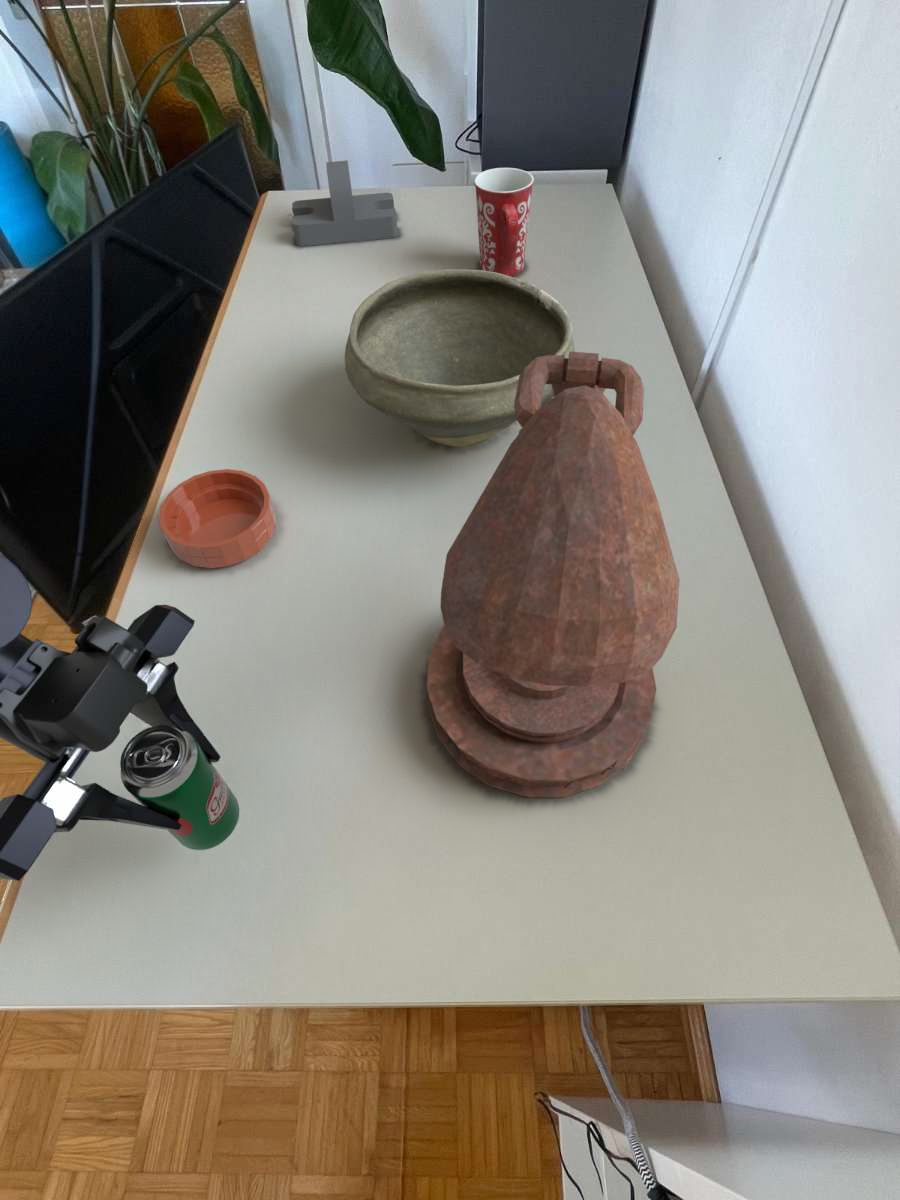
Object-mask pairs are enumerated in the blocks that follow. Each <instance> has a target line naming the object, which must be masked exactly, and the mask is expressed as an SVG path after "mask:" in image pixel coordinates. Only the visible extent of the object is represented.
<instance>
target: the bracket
mask: <svg viewBox="0 0 900 1200" xmlns="http://www.w3.org/2000/svg"><path fill="white" fill-rule="evenodd" d="M325 164H326V165H325V166H326V174H327V176H326V177H327V182H328V183H327V184H328V191H329V197H322V198H312V199H311V198H310V199H300V200H299V199H298V200H295V201H293V202H292V204H291V207H292V208H291V210H292V214H293V215H292V216H291V224H292V229H293V234H294V238H295V245H297V246H298V247H310V246H321V245H332V244H342V243H353V242H363V241H375V240H387V239H395V238H397V237H398V236H399V232H398V219H397V211H396V208H395V201H394V195H393V194H392V193H391V192H379V193H378V192H377V193H367V194H357V195H356V194H355V195H353V190H352V184H351V175H350V168H349V161H348V160H335V161H327V162H325Z"/></svg>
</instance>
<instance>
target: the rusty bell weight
mask: <svg viewBox="0 0 900 1200" xmlns="http://www.w3.org/2000/svg"><path fill="white" fill-rule="evenodd" d="M599 354H600V353H597V352H596V353H595V352H583V351H575V352H569V358H565V355H546V356H542V357H537V358H535V359H534V360H533V361H532V362H531V363H529V364H528V365H527V366H526V367H525V368H524V370H523V371H522V373H521V375H520V376H519V380H518V386H517V391H516V397H515V403H514V410H515V416H516V420H517V421H516V422H517V423H518V424H519V425H520V427H521V428H520V429H519V431H518V433H517V436H516V437H515V438H514V439H513V440H512V442H511V443H510V445H509V446H508V448H507V450H506V452H505V454H504V455H503V457H502V459H501V460H500V462H499V463H498V465H497V467H496V469H495V471H494V472H493V474H492V476H491V477H490V479H489V481H488V483H487V484H486V486H485V488H484V489H483V491H482V493H481V494H480V496H479V497H478V499H477V501H476V503H475V505H474V506H473V508H472V510H471V512H470V513H469V515H468V517H467V519H466V520H465V522H464V523H463V525H462V526H461V529H460V531H459V533H458V534H457V536H456V537H455V539H454V541H453V543H452V544H451V546H450V547H449V549H448V551H447V553H446V556H445V563H444V569H443V570H444V571H443V577H442V584H441V589H440V604H439V605H440V612H441V616H442V620H443V626H442V627H441V628H440V629H439V631H438V634H437V635H436V638H435V641H434V643H433V645H432V647H431V650H430V652H429V655H428V657H427V667H426V669H427V670H426V693H427V696H428V706H427V707H428V711H429V714H430V717H431V720H432V723H433V726H434V730H435V733H436V735H437V739H438V740H439V741H440V743H441V744H442V745H443V747H444V748H445V750H447V752H448V753H449V754H450V755H451V757H452V758H453V759H454V761H455V762H456V763H457V765H458V766H459V767H461V768H462V769H464V770H465V771H467V772H468V773H470V774H471V775H473V776H474V777H475V778H477V779H479V781H481V782H482V783H484V784H485V785H487V786H488V787H492V788H493V789H494V788H495V789H498V790H500V791H504V792H508V793H510V794H514V795H517V796H520V797H524V798H565V797H568V796H572V795H575V794H578V793H581V792H584V791H588V790H591V789H594V788H597V787H600V786H601V785H602V784H603V783H605V782H606V781H607V780H608V779H610V778H611V777H612V776H614V775H615V774H617V773H618V772H619V771H620V770H622V769H623V768H625V767H626V766H627V764H628V763H629V762H630V759H631V758H632V757H633V755H634V753H635V752H636V750H637V749H638V747H639V745H640V744H641V743H642V741H643V739H644V736H645V731H646V729H647V727H648V725H650V722H651V720H652V715H653V714H652V713H653V709H654V702H655V699H656V692H657V685H656V680H655V673H654V669H653V668H654V667H655V665H657V663H658V662H659V661H660V660H661V659H662V657H663V655H664V654H665V651H666V649H667V648H668V646H669V643H670V641H671V639H672V638H673V635H674V633H675V632H676V629H677V627H678V611H679V609H678V608H679V597H680V596H679V595H680V594H679V593H680V576H679V573H678V569H677V565H676V562H675V559H674V555H673V551H672V548H671V544H670V541H669V537H668V533H667V530H666V526H665V522H664V519H663V515H662V511H661V508H660V503H659V500H658V497H657V494H656V492H655V489H654V487H653V484H652V480H651V478H650V475H649V472H648V469H647V466H646V464H645V461H644V458H643V455H642V452H641V450H640V447H639V444H638V441H637V440H636V438H635V437H634V435H635V434H636V432H637V430H639V427H640V426H641V424H642V422H643V420H644V402H645V401H644V399H645V398H644V397H645V388H644V384H643V380H642V377H641V376H640V375H639V373H638V371H637V370H636V369H635V367H634V366H633V365H632V364H629V363H627V362H625V361H623V360H621V359H615V358H607V357H601V358H600V357H599V356H600V355H599ZM599 358H600V359H601V360H599ZM545 384H552V388H553V392H554V397H552V398H551V399H550V400H549V401H548V402H546V403H545V404H543V405H542V406H541V402H542V396H543V390H544V385H545ZM606 389H608V390H614V391H615V393H616V394H615V405H614V404H613V403H612V402H611V401H610V400H609V399H608V397H607V396H605V394H604V393H605V391H606Z"/></svg>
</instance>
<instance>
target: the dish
mask: <svg viewBox="0 0 900 1200" xmlns="http://www.w3.org/2000/svg"><path fill="white" fill-rule="evenodd" d="M271 498H272V497H271V495H270V493H269V491H268V489H267V485H266V484H265V483H264V482H263V481H262V480H261V479H260V478H258V477H257V476H256V475H254V474H252V473H248V472H247V471H243V470H239V469H229V468H224V469H214V470H208V471H205V472H201V473H199V474H196V475H193V476H191V477H190V478H188V479H186V480H184V481H182V482H180V483H179V484H178V485H177V486H176V487H174V488H173V489H172V490H171V491H170V492H169V493H167V495H166V496H165V497H164V500H163V502H162V503H161V505H160V507H159V513H158V517H157V518H158V524H159V527H160V530H161V533H162V534H163V536H164V537H165V540H166V543H167V544H168V545H169V547H170V549H171V551H172V552H173V553H174V555H175V556H177V558H178V559H179V560H181V561H182V562H185V563H187V564H188V565H191V566H193V567H199V568H206V569H214V568H222V567H223V568H224V567H229V566H233V565H235V564H239V563H241V562H243V561H246V560H248V559H249V558H251V557H252V556H254V555H255V554H257V553H259V552H260V551H261V550H262V549H263V548H264V546H265V545H266V544H268V542H269V541H270V540H271V538H272V536H273V534H274V532H275V529H276V527H277V514H276V511H275V508H274V504H273V501H272V499H271Z"/></svg>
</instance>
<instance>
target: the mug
mask: <svg viewBox="0 0 900 1200" xmlns="http://www.w3.org/2000/svg"><path fill="white" fill-rule="evenodd" d="M534 183H535V178H534V176H533V175H532V174H531V173H530V172H528V171H526V170H523V169H520V168H515V167H495V168H489V169H486V170H483V171H481V172H480V173H478V174H477V175H476V176H475V177H474V180H473V184H474V187H475V197H476V198H475V201H476V215H477V235H478V252H479V268H480V270H483V271H490V272H496V273H500V274H503V275H507V276H510V277H514V276H516V275H518V274H520V273H521V272H522V271H523V270H524V266H525V258H526V250H527V249H526V248H527V239H528V231H529V219H530V213H531V212H530V210H531V202H532V201H531V200H532V193H533V186H534Z"/></svg>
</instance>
